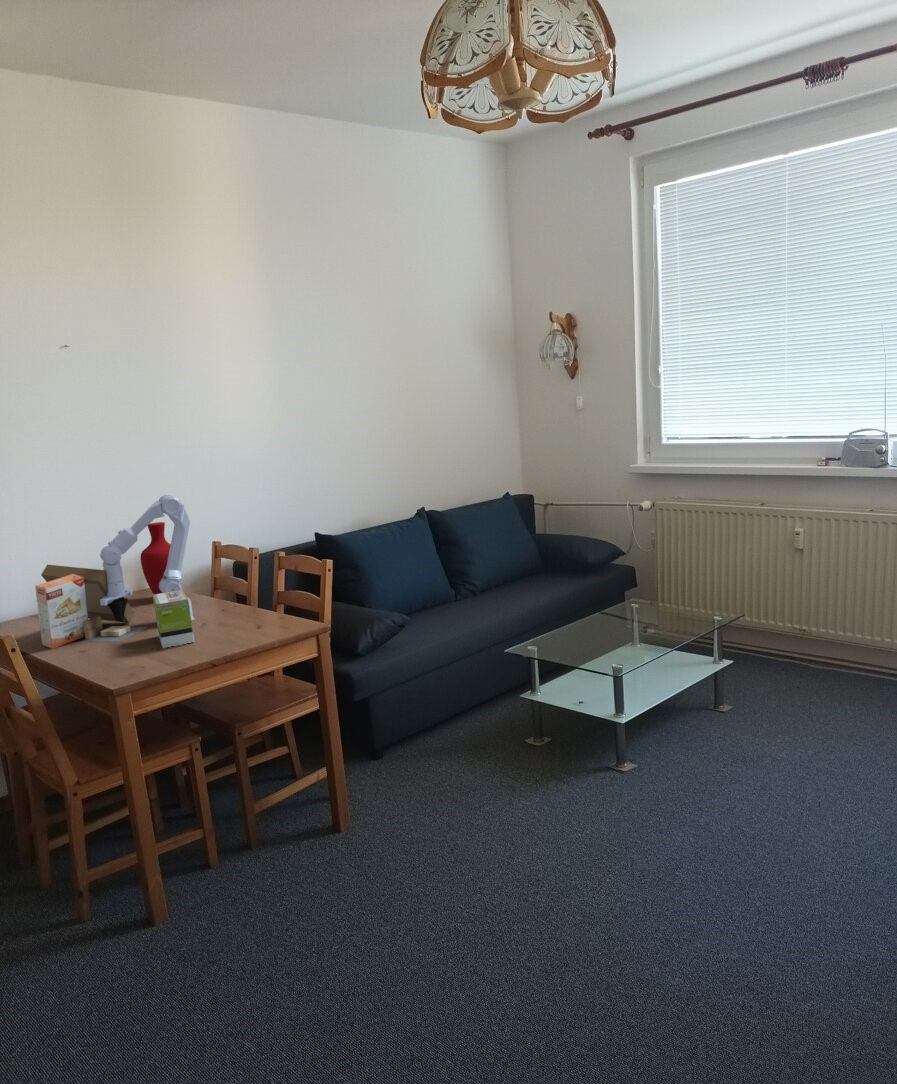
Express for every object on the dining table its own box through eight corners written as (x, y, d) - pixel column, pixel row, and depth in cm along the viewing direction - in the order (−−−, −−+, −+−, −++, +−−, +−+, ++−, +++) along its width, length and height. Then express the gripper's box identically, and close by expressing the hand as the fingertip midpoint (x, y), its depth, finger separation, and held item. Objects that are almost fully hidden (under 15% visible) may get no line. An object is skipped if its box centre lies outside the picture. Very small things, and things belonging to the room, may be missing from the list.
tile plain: (99, 633, 286) (96, 616, 285) (103, 633, 286) (100, 616, 285) (85, 639, 280) (82, 622, 279) (89, 639, 279) (87, 622, 278)
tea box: (157, 637, 278) (151, 593, 275) (189, 632, 281) (183, 588, 279) (161, 649, 264) (155, 603, 261) (195, 643, 268) (189, 597, 265)
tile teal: (129, 626, 286) (118, 631, 280) (130, 631, 286) (119, 636, 280) (111, 626, 288) (100, 631, 282) (112, 631, 288) (101, 636, 282)
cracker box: (53, 650, 271) (45, 589, 265) (41, 645, 274) (33, 585, 268) (91, 635, 283) (84, 576, 276) (79, 630, 286) (72, 572, 279)
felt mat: (148, 628, 290) (148, 627, 290) (119, 642, 275) (119, 641, 275) (112, 628, 294) (112, 627, 293) (82, 642, 278) (82, 641, 278)
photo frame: (130, 624, 297) (93, 596, 275) (76, 617, 302) (34, 590, 279) (144, 585, 303) (108, 555, 281) (90, 579, 308) (50, 550, 286)
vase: (138, 604, 326) (128, 527, 321) (158, 594, 340) (148, 520, 335) (174, 603, 324) (164, 525, 318) (192, 593, 338) (182, 519, 332)
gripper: (117, 576, 292) (122, 614, 294) (89, 586, 278) (95, 626, 281) (135, 576, 290) (140, 614, 292) (108, 586, 276) (114, 626, 279)
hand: (119, 620), depth 286 cm, fingers closed
